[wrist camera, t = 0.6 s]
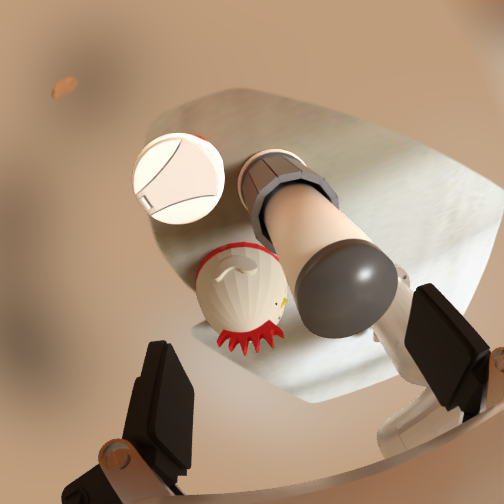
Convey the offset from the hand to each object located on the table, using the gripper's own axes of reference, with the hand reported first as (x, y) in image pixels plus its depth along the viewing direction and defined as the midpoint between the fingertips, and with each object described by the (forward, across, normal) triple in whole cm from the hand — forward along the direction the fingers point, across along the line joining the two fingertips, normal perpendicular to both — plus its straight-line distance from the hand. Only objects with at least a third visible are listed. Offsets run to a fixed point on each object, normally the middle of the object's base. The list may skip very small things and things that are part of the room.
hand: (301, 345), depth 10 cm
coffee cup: (+31, +6, -4) cm, 32 cm away
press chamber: (+31, -4, +2) cm, 32 cm away
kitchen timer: (+32, +4, +16) cm, 36 cm away
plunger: (+23, -4, +2) cm, 23 cm away
